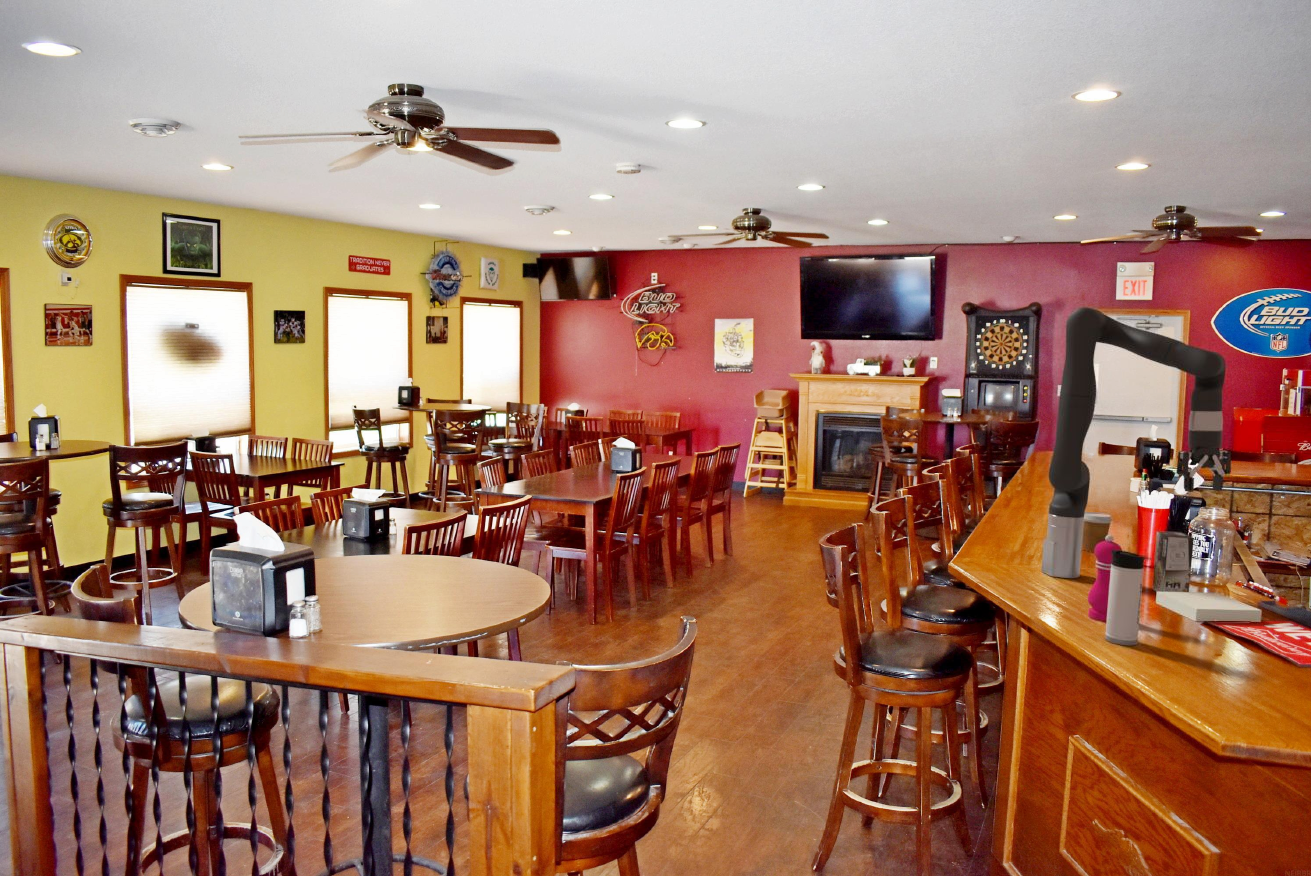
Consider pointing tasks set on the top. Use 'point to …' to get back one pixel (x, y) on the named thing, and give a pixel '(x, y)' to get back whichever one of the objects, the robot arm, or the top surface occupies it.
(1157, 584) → the coffee box
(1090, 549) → the disposable coffee cup
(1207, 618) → the plinth
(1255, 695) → the top surface
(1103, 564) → the pepper mill
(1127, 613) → the travel mug
